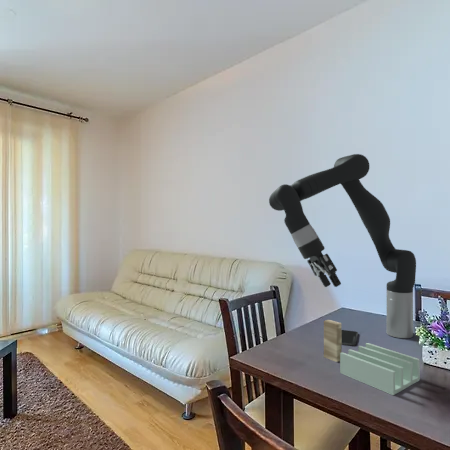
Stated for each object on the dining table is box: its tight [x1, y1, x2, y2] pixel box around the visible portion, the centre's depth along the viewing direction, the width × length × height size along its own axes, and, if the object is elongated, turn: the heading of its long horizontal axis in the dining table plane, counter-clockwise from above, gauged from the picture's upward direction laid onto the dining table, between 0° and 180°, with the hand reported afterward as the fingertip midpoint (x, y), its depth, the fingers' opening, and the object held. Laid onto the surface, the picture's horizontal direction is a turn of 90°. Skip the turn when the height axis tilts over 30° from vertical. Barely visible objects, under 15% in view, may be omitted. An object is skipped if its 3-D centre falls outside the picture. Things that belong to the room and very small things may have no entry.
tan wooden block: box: [323, 319, 343, 363], centre depth 113 cm, size 2×5×12 cm, turn 36°
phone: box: [341, 329, 359, 347], centre depth 132 cm, size 8×1×15 cm
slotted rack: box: [339, 342, 421, 396], centre depth 100 cm, size 14×16×6 cm
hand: (332, 285), depth 111 cm, fingers open, 8 cm apart
